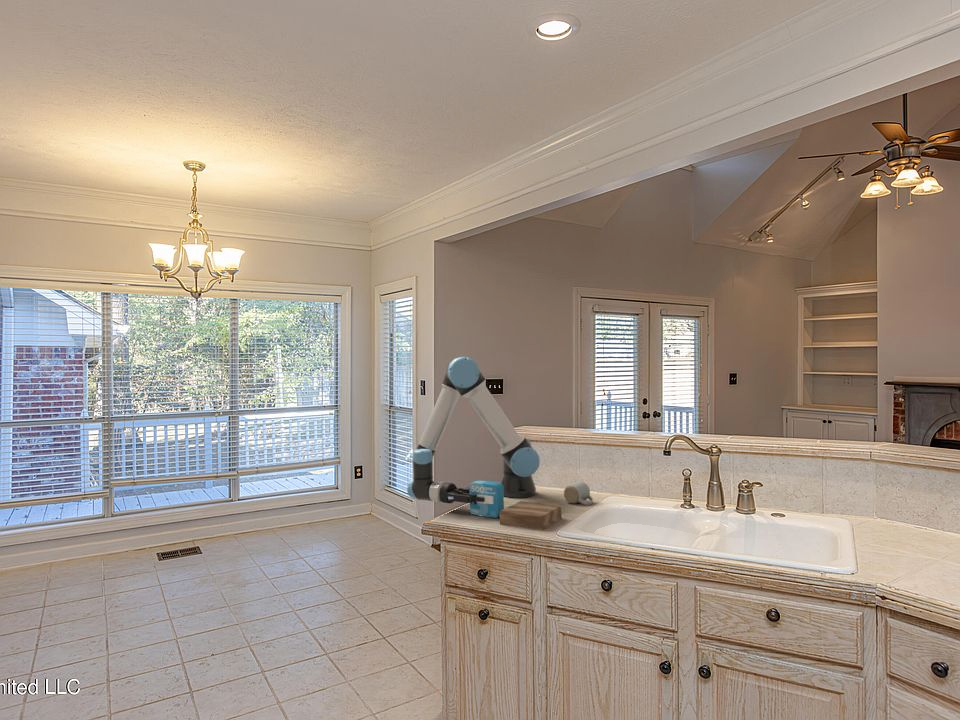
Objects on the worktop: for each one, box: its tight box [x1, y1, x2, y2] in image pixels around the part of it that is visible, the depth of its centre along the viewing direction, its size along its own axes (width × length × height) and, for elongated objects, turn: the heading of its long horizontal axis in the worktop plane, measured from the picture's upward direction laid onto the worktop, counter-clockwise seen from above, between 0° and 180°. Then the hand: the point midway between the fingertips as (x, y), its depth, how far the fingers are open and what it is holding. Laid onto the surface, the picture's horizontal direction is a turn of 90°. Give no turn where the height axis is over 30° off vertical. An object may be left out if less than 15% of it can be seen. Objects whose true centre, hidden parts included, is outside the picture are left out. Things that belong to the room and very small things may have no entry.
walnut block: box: [499, 500, 563, 531], centre depth 212 cm, size 16×16×5 cm
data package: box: [468, 480, 505, 519], centre depth 221 cm, size 12×4×12 cm, turn 58°
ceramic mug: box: [563, 480, 594, 506], centre depth 237 cm, size 11×8×8 cm
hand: (496, 498), depth 219 cm, fingers closed on data package, 4 cm apart
